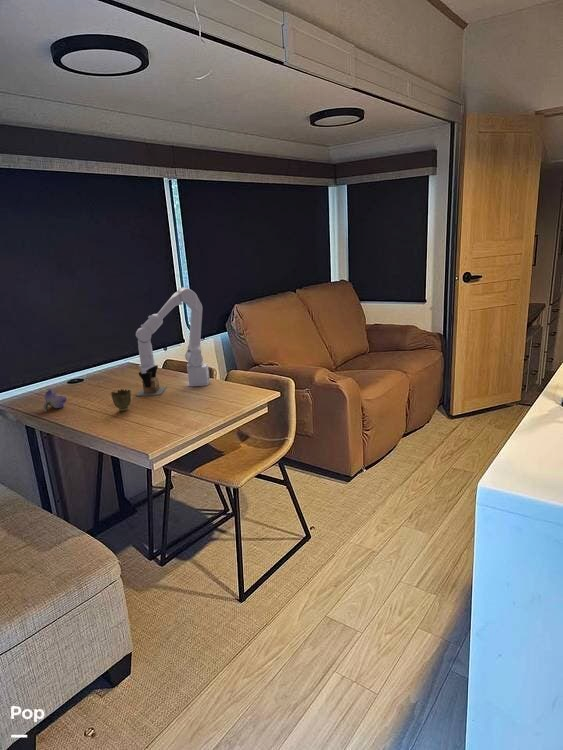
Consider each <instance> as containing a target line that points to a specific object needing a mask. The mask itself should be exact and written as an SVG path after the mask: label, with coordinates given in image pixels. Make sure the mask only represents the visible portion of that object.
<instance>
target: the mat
mask: <svg viewBox="0 0 563 750" xmlns="http://www.w3.org/2000/svg"><path fill="white" fill-rule="evenodd" d="M159 388H160V389H159V390H158V391H157V392H156V393H144V390H143V387H142V388H141V389H140V390H139V391H138V393H137V394H136V395H135V397H148V396H149V397H152V396H161V395H163V393H164V392H165V390H166V389H167V388H168V386H159Z"/></svg>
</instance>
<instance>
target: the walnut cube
mask: <svg viewBox="0 0 563 750" xmlns="http://www.w3.org/2000/svg"><path fill="white" fill-rule="evenodd" d="M159 382H160V381H159V377H158V376H156V377H151V387H145V385H144V382H143V380H142V388H143V390H144V393H156V392H157V391H158V390H159V389H160V388H159V387H160V383H159Z"/></svg>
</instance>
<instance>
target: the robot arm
mask: <svg viewBox="0 0 563 750" xmlns="http://www.w3.org/2000/svg"><path fill="white" fill-rule="evenodd" d="M183 303H184V304H185V305H186V306H187V307H188V308H189V309H190V321H189V322H190V324H189V325H190V326H189V340H188V346H187V350H186V352H185V355H184V357H185V360H186V361H187V364H186V370H187V379H188V380H187V381H188V383H187V385H186V387H189V388H190V387H207V386H208V385H209V383H210V382H211V379H210V371H209V366H208V364H203V361H204V358H203V355H202V348H201V341H202V340H201V337H202V324H203V323H202V322H203V305H202V302H201V301H200V298H199V297H198V295H197V293H196V292H195V291H194V290H192V289H190V288H188V287H185V286H183V287H180V288H178V289H177V291H176V292H174V293H173V294H172V295H171V297H169V299H168V300H167V301H166V302H165V303H164V305H163V306H162V307H161V308H160V310H159V311H157V313H153V314H151V315H148V316H147V318H148V319H147V320H146V321H145V322H144V323H143V324H141V325H140V327H139V328H137V330H136V331H135V337H136V339H137V344H138V345H137V348H138V354H139V359H140V364H139V365H138V368H140V371H139V372H138V375H139V377H140V378H141V380H142V381H143V382H144V385H145V387H151V377H157V370H158V367H159V365H158V364H157V365H156V363H155V359H154V353H153V351H154V350H153V345H152V342H151V339H152V335H153V334H155V332H157V330H158V329H159V328H160V327H161V326H162V325H163V323H164V320H163V319H164V318H165V317H166V316H167V315H168V314H169V313H170V312H171V311H172V310H173V309H174V308H175V307H177V306H181V305H183Z"/></svg>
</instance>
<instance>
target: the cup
mask: <svg viewBox="0 0 563 750" xmlns="http://www.w3.org/2000/svg"><path fill="white" fill-rule="evenodd" d="M110 395H111V399H112V403H113V405H114V406H115V407H116V408H117V409H118V411H119V412H121V413H124V412H126V411H128V410H129V406H130V405H131V401H132V399H131V397H132V396H131V390H130V389H123V388H122V389H118V390H117V392H115V391H112V392H111V393H110Z"/></svg>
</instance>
